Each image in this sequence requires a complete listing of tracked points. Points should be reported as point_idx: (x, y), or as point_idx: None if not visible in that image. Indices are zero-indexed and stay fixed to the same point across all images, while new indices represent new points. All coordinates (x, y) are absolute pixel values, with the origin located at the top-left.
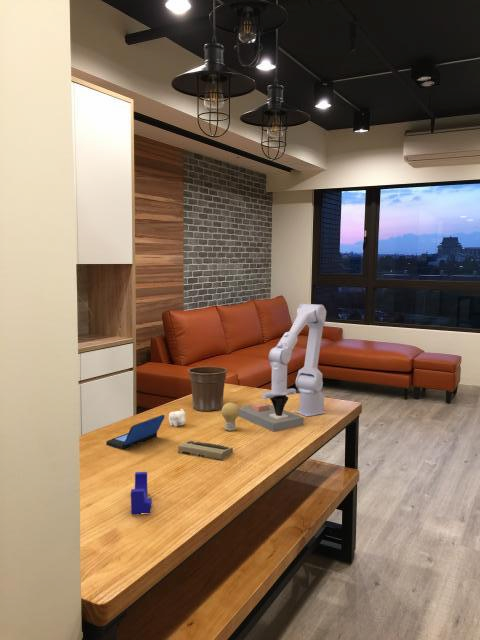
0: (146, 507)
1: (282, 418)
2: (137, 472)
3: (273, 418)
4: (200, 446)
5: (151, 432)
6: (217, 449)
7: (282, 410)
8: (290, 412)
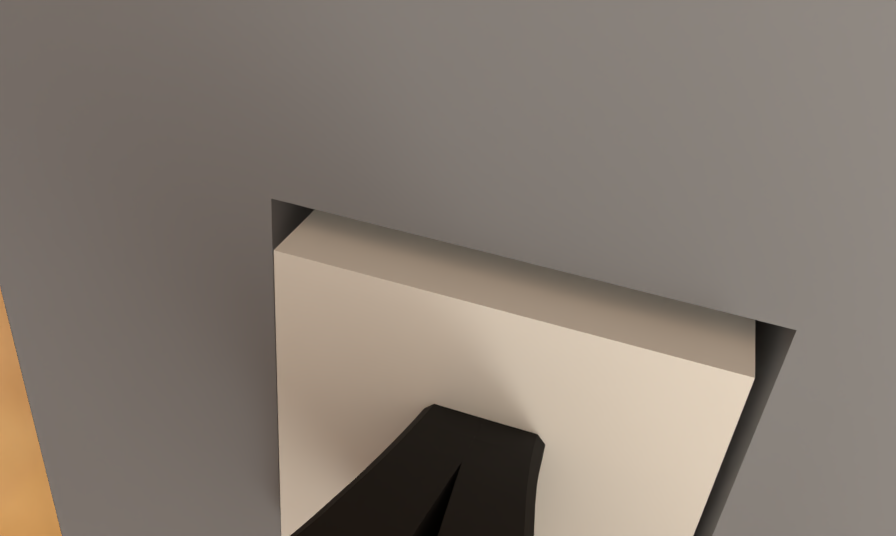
0: None
1: (563, 265)
2: None
3: (788, 472)
4: None
5: None
6: None
7: (361, 511)
8: (28, 397)
